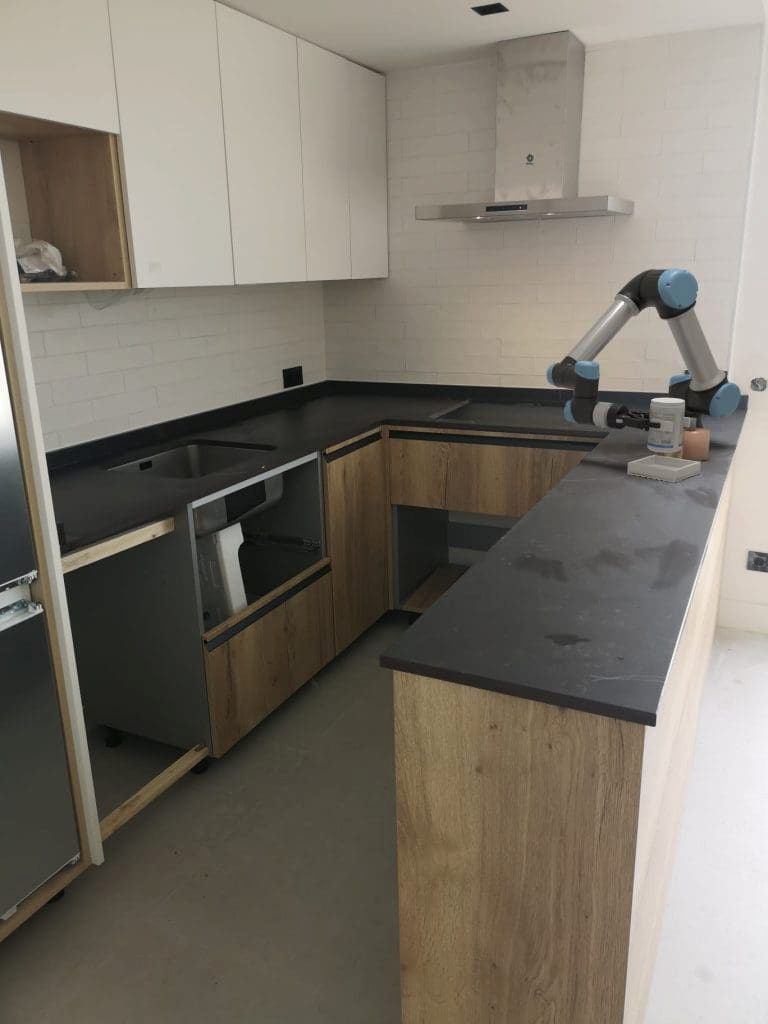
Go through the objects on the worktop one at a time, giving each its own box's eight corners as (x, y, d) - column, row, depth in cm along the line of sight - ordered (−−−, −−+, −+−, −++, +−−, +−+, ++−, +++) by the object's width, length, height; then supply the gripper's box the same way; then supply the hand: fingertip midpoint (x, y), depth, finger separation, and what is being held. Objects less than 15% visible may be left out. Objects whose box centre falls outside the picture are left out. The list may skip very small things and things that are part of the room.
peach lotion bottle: (686, 453, 264) (689, 414, 260) (712, 457, 257) (716, 417, 254) (672, 458, 258) (676, 418, 254) (699, 462, 251) (703, 421, 248)
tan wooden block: (676, 459, 255) (678, 426, 252) (681, 460, 254) (685, 427, 251) (656, 466, 248) (659, 432, 245) (662, 467, 246) (665, 433, 243)
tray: (653, 465, 248) (653, 454, 247) (699, 473, 237) (700, 462, 236) (627, 474, 238) (627, 462, 237) (674, 482, 228) (675, 470, 227)
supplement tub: (662, 445, 242) (667, 396, 238) (688, 451, 234) (693, 400, 230) (639, 448, 237) (643, 399, 233) (664, 454, 229) (669, 403, 225)
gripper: (629, 423, 254) (697, 432, 238) (590, 432, 240) (660, 443, 224) (631, 399, 252) (700, 407, 236) (592, 407, 238) (662, 416, 222)
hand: (680, 424), depth 230 cm, fingers closed on supplement tub, 9 cm apart
